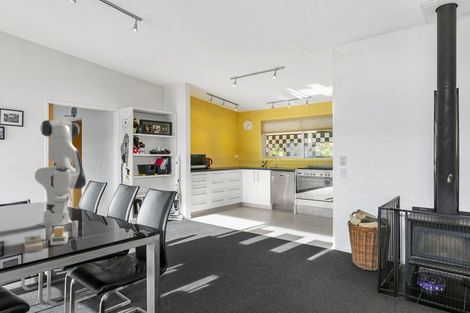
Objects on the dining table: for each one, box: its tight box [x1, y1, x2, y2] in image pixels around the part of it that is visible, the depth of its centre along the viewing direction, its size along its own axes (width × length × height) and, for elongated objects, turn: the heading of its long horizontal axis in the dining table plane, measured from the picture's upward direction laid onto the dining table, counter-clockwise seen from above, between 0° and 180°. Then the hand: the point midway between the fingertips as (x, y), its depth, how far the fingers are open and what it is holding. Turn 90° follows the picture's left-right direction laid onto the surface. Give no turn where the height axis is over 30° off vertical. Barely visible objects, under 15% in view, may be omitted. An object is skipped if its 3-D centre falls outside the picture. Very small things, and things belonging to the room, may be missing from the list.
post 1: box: [45, 223, 53, 241], centre depth 169 cm, size 3×3×9 cm
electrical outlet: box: [23, 235, 44, 254], centre depth 155 cm, size 7×4×18 cm
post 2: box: [71, 220, 79, 239], centre depth 174 cm, size 3×3×9 cm
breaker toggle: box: [53, 225, 65, 236], centre depth 161 cm, size 2×4×4 cm, turn 113°
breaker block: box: [49, 230, 70, 246], centre depth 164 cm, size 12×7×4 cm, turn 23°
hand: (61, 220), depth 172 cm, fingers open, 8 cm apart
